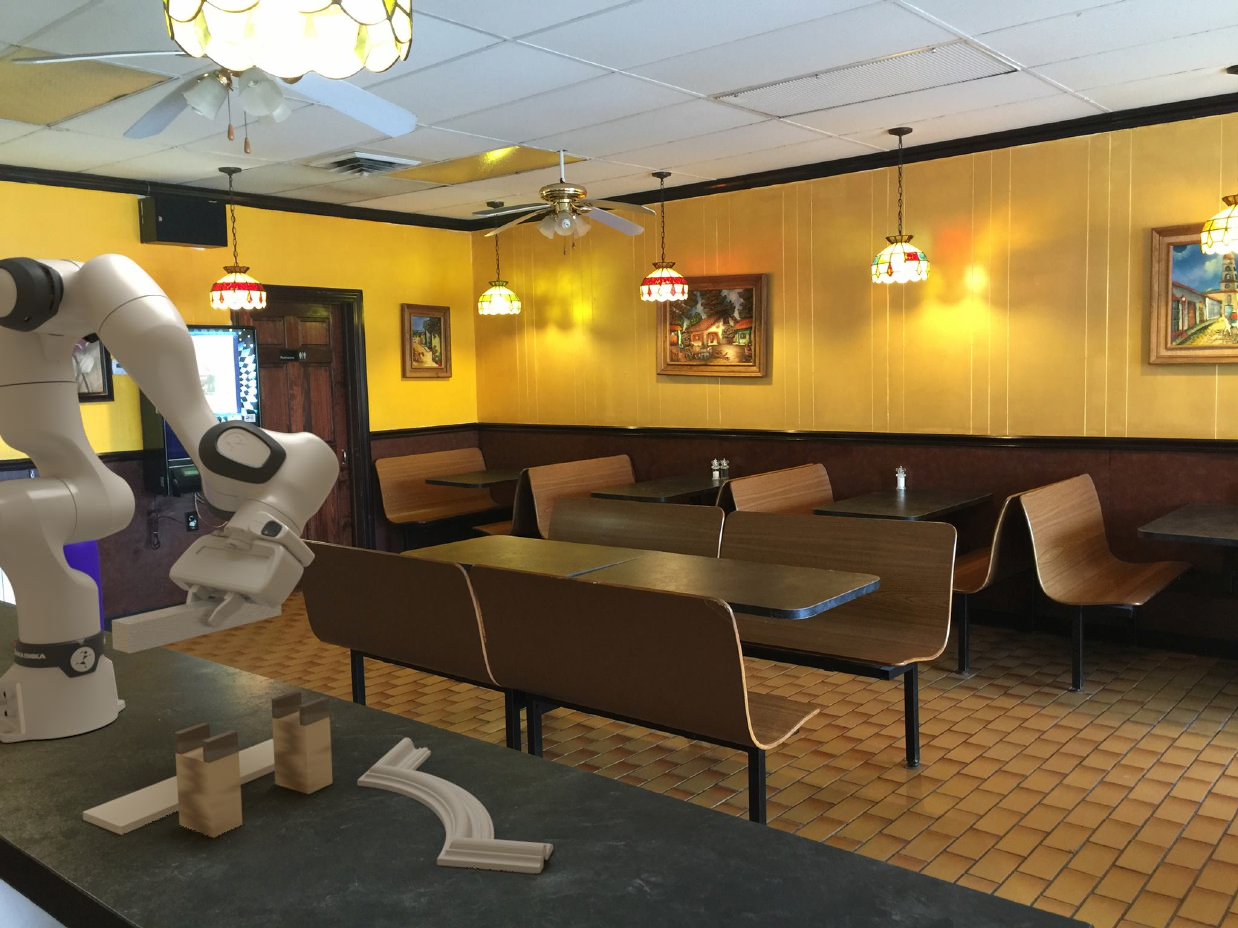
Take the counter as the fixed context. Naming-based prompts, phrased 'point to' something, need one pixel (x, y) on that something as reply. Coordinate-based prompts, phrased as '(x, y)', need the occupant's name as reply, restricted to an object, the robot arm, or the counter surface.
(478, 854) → the molding
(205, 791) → the post near
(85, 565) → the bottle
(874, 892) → the counter surface
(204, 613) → the rail
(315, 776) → the post far
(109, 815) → the plank
